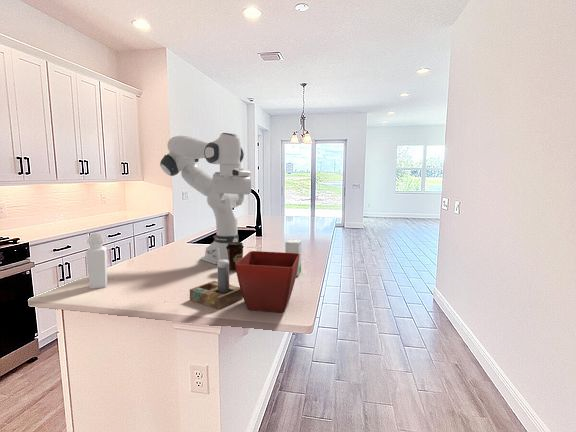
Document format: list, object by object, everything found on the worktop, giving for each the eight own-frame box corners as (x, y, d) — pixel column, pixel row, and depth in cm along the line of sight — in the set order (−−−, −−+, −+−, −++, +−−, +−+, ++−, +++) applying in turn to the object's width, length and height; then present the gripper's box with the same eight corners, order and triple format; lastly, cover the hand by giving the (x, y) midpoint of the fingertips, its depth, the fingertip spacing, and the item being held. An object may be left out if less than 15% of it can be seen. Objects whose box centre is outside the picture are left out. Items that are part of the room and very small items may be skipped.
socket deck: (189, 300, 118) (188, 288, 117) (214, 290, 128) (213, 280, 127) (218, 309, 110) (218, 297, 109) (242, 298, 120) (242, 287, 119)
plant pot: (292, 318, 103) (292, 266, 101) (234, 313, 107) (234, 263, 105) (299, 296, 122) (300, 253, 120) (250, 293, 125) (250, 250, 123)
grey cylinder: (215, 299, 116) (215, 261, 115) (223, 295, 120) (223, 258, 118) (223, 301, 114) (223, 262, 112) (231, 298, 117) (231, 260, 116)
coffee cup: (247, 267, 160) (247, 242, 159) (239, 272, 152) (239, 245, 151) (231, 266, 163) (231, 240, 162) (223, 270, 155) (222, 244, 154)
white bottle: (90, 284, 134) (87, 232, 131) (108, 282, 136) (105, 231, 134) (88, 289, 128) (84, 234, 125) (107, 287, 130) (103, 233, 128)
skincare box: (298, 276, 147) (299, 243, 145) (284, 275, 148) (284, 242, 146) (301, 271, 155) (301, 239, 153) (288, 270, 156) (288, 238, 154)
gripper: (207, 171, 140) (208, 203, 142) (243, 171, 129) (243, 206, 131) (218, 172, 146) (218, 202, 147) (253, 172, 134) (253, 205, 136)
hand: (230, 204), depth 139 cm, fingers open, 8 cm apart
